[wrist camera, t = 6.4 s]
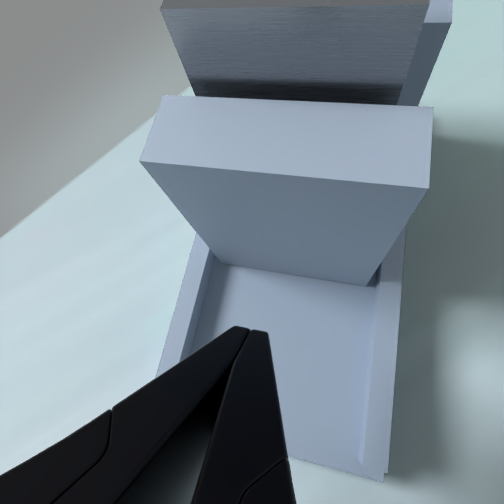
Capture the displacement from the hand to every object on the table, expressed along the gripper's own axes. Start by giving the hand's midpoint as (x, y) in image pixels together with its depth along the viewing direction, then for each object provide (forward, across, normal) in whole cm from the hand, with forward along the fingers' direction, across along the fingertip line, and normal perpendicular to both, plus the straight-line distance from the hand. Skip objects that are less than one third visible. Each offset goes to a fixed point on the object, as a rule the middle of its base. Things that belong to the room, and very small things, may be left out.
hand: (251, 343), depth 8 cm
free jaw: (+8, 0, +1) cm, 8 cm away
